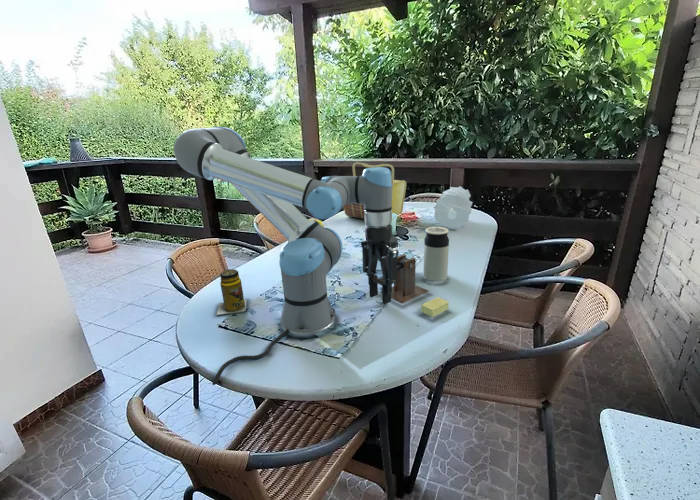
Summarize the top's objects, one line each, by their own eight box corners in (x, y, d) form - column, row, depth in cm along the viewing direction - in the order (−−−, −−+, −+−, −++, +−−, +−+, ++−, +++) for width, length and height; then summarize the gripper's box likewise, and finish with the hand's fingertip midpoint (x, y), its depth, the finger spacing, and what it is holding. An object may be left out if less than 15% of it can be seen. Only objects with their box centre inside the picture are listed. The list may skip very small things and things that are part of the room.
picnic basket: (408, 216, 206) (408, 161, 196) (379, 226, 189) (378, 167, 179) (368, 209, 225) (367, 159, 215) (339, 218, 208) (336, 164, 198)
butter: (432, 321, 101) (432, 310, 100) (421, 315, 104) (421, 304, 103) (448, 312, 105) (448, 301, 104) (437, 307, 108) (437, 296, 107)
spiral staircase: (441, 238, 180) (446, 221, 202) (476, 225, 172) (477, 209, 194) (426, 205, 176) (432, 192, 198) (461, 190, 168) (464, 178, 190)
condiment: (245, 311, 111) (239, 275, 107) (216, 315, 109) (209, 279, 105) (246, 300, 118) (241, 266, 114) (219, 304, 116) (212, 269, 112)
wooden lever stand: (402, 307, 109) (402, 267, 105) (379, 295, 117) (379, 258, 112) (429, 294, 116) (430, 257, 111) (406, 284, 123) (406, 249, 119)
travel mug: (445, 286, 121) (448, 234, 115) (421, 283, 124) (422, 232, 118) (448, 276, 128) (450, 227, 122) (425, 274, 131) (426, 225, 125)
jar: (383, 276, 131) (383, 244, 126) (370, 269, 137) (369, 239, 133) (403, 270, 135) (403, 239, 131) (389, 263, 142) (388, 234, 137)
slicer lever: (383, 288, 106) (382, 281, 105) (372, 283, 109) (370, 276, 108) (414, 266, 112) (413, 260, 111) (402, 262, 116) (401, 255, 114)
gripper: (411, 228, 97) (411, 305, 105) (367, 216, 111) (370, 285, 118) (391, 234, 93) (392, 314, 101) (348, 221, 106) (351, 292, 114)
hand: (380, 298), depth 110 cm, fingers open, 5 cm apart
